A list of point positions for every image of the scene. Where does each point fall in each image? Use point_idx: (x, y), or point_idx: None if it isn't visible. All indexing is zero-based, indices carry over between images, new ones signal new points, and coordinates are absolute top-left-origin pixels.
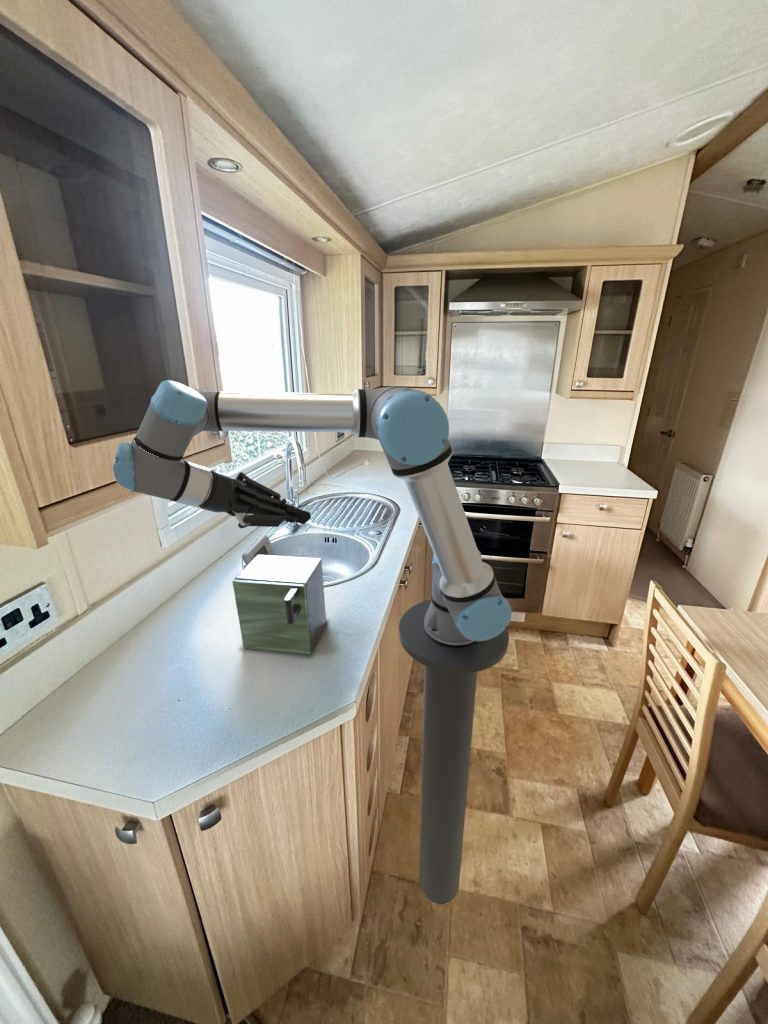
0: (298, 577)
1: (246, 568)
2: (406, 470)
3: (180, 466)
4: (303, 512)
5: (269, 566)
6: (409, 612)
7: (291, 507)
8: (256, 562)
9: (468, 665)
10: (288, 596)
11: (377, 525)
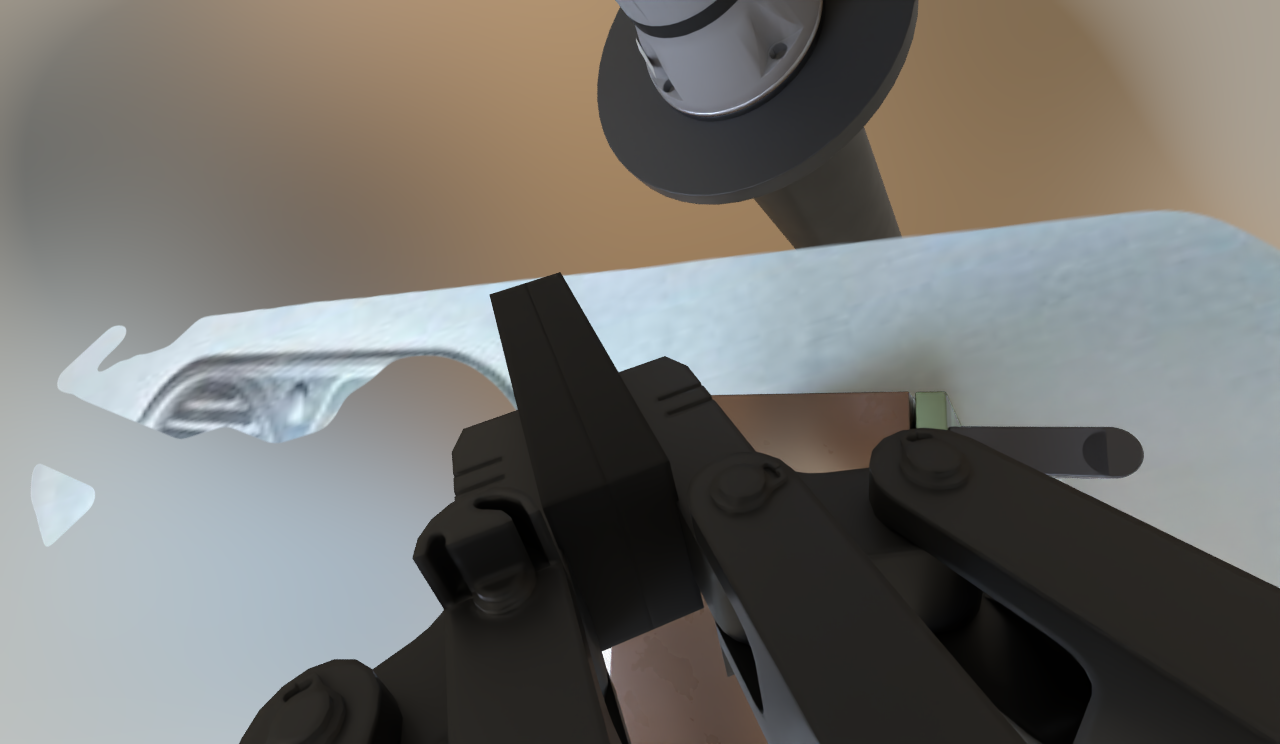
0: (845, 457)
1: None
2: None
3: None
4: (534, 321)
5: (736, 688)
6: (672, 180)
7: (539, 428)
8: None
9: None
10: (1080, 455)
11: (263, 405)
